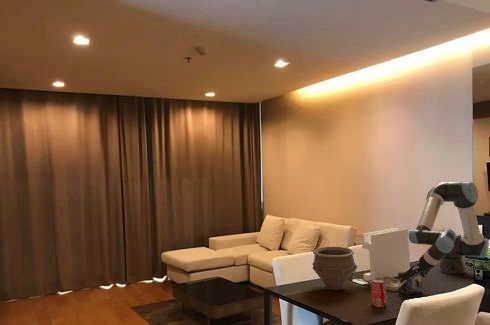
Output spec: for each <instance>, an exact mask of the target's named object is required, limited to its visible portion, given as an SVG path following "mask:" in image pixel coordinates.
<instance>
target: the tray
mask: <svg viewBox="0 0 490 325" xmlns="http://www.w3.org/2000/svg"><path fill="white" fill-rule="evenodd" d="M376 279H380V280H384V283H385V285H386V291H390V292H393V293H394V292H399V286H398V285H397V282H398V281H399V279H398V278H395V277H393V278H390V277H387V276H385V277H380V278H376ZM372 280H375V279H371V280H369V281H368V285H369V286H371V283H372Z"/></svg>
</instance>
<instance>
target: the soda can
mask: <svg viewBox="0 0 490 325" xmlns="http://www.w3.org/2000/svg"><path fill="white" fill-rule="evenodd" d="M370 292H371V293H370V294H371V296H370V297H371V304H372V305H373V306H374V307H377V308H384V307H385V306H386V305H387V301H388V299H387V290H386V285H385V283H384V280H380V279H375V280H372V283H371V285H370Z"/></svg>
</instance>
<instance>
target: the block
mask: <svg viewBox="0 0 490 325" xmlns="http://www.w3.org/2000/svg"><path fill="white" fill-rule="evenodd" d="M361 245H362V246H361V247H362V249H366V250H368V251H369V266H370V268H369V269H370V272H366V273H363V281H366V282H369V280H371V279H376V278H380V277H385V276H387V277H390V278H396V277H398V273H400V272H406V271H408V270H409V269H410V268H411V267H410V265H411V264H410V240H409V229H408V228H402V229H399V227H394V228H387V229H382V230H376V231H370V232H365V233H364V232H363V233H361Z"/></svg>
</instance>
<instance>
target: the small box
mask: <svg viewBox="0 0 490 325" xmlns="http://www.w3.org/2000/svg"><path fill="white" fill-rule="evenodd" d="M404 273H405V272H400V273H398V276H397V277H398V278H397V279H398V280H400V279H401V275H403V274H404ZM422 278H423V276H422V277H421V273H418V274H415V275H413V276H412V277H410V278H409V279H407V281H406V282H405V283H404V284H403V285H402V286H401V287H399V291H398V293H401V294H403V295H407V296H408V295H415V294H416V295H417V294H422V293H423V282H422V280H423V279H422Z"/></svg>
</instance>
